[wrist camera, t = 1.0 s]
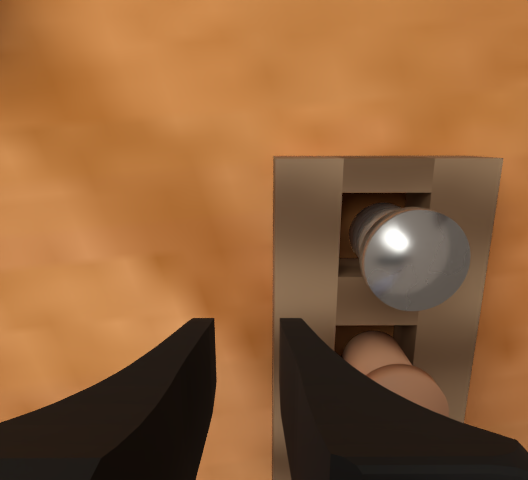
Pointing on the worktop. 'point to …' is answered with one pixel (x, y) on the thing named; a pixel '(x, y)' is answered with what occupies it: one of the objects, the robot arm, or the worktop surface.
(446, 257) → the grey plug
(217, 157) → the worktop surface
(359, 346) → the terracotta plug
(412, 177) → the walnut block
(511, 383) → the worktop surface
